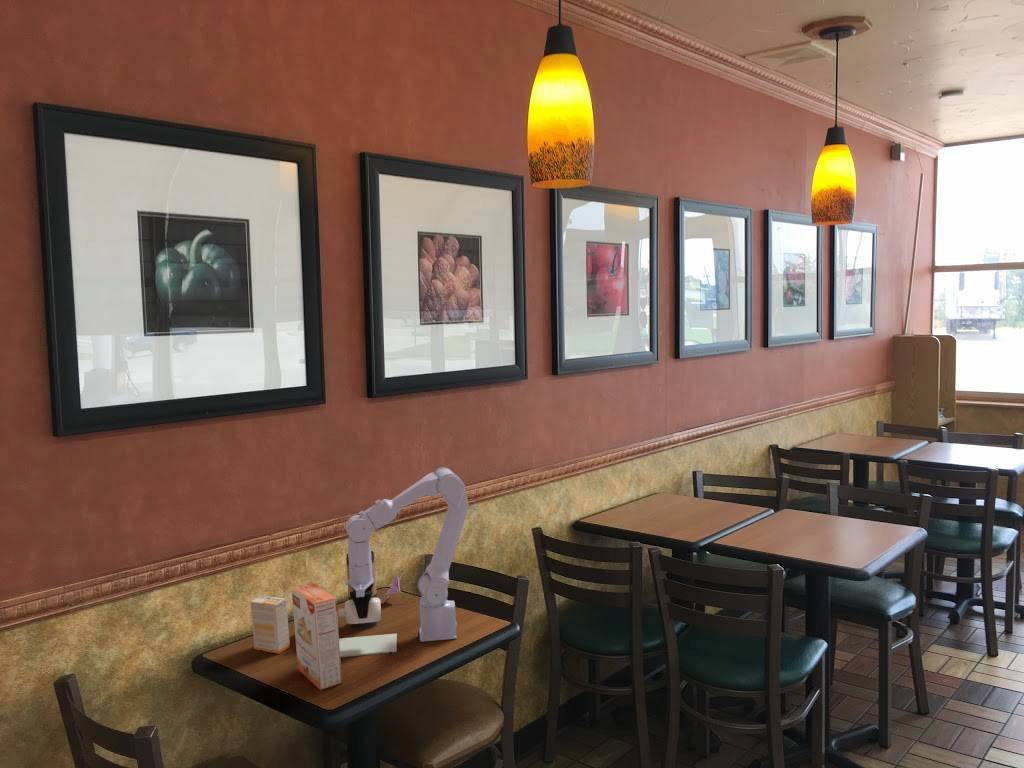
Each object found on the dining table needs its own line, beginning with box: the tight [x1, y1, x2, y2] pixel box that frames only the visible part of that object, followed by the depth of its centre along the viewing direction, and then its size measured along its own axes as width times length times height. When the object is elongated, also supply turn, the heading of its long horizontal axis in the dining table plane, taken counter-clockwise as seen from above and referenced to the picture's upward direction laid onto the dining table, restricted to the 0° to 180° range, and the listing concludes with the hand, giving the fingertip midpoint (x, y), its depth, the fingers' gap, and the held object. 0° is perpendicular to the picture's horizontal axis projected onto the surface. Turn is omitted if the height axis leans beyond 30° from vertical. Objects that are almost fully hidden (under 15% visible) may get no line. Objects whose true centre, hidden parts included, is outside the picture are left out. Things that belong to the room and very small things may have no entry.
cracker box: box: [291, 582, 343, 691], centre depth 195 cm, size 14×6×21 cm, turn 35°
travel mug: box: [345, 550, 378, 630], centre depth 227 cm, size 8×8×20 cm
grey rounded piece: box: [337, 597, 382, 625], centre depth 212 cm, size 11×4×5 cm, turn 97°
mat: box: [339, 632, 398, 658], centre depth 213 cm, size 16×11×1 cm
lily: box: [380, 569, 409, 603], centre depth 243 cm, size 12×12×10 cm
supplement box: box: [249, 595, 291, 655], centre depth 213 cm, size 8×5×13 cm, turn 65°
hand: (363, 614), depth 212 cm, fingers closed on grey rounded piece, 4 cm apart
